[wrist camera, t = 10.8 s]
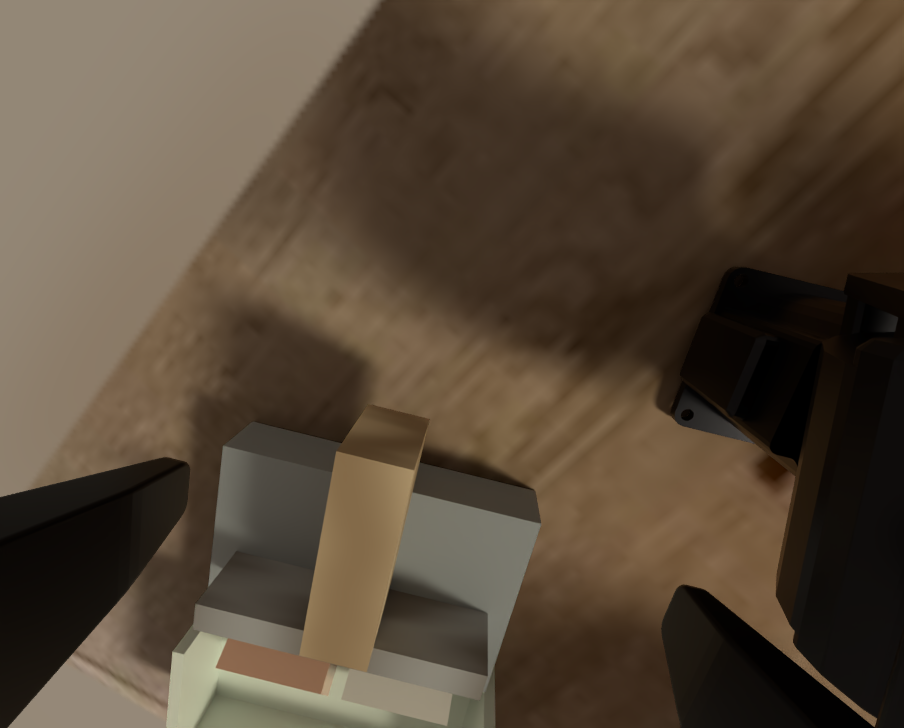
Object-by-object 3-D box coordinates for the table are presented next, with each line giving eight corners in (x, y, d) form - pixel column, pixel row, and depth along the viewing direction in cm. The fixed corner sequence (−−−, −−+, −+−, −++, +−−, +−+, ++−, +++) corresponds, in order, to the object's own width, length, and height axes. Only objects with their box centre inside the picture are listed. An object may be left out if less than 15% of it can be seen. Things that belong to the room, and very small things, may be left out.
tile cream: (454, 683, 21) (447, 726, 20) (441, 685, 24) (435, 721, 24) (352, 658, 21) (341, 699, 20) (355, 664, 24) (345, 699, 24)
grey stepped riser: (535, 491, 22) (541, 524, 19) (485, 646, 24) (485, 692, 22) (252, 421, 22) (223, 445, 19) (232, 583, 24) (204, 622, 22)
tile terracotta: (333, 653, 21) (320, 694, 20) (338, 661, 24) (328, 696, 24) (232, 627, 21) (215, 668, 20) (252, 639, 25) (239, 673, 24)
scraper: (540, 446, 18) (554, 504, 14) (480, 635, 21) (479, 727, 17) (258, 376, 18) (196, 416, 14) (233, 573, 21) (176, 652, 17)
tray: (494, 651, 24) (495, 731, 20) (460, 754, 26) (455, 845, 22) (222, 584, 24) (172, 651, 20) (210, 692, 26) (162, 771, 22)
